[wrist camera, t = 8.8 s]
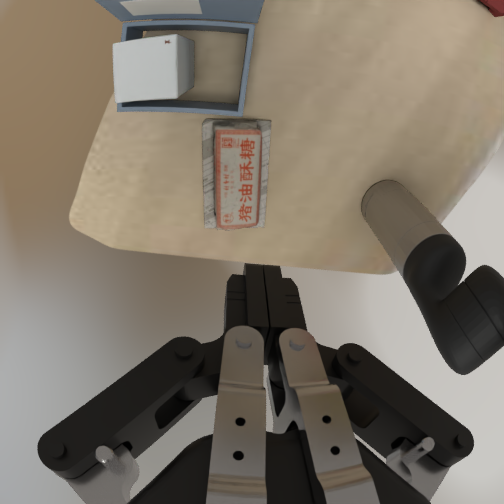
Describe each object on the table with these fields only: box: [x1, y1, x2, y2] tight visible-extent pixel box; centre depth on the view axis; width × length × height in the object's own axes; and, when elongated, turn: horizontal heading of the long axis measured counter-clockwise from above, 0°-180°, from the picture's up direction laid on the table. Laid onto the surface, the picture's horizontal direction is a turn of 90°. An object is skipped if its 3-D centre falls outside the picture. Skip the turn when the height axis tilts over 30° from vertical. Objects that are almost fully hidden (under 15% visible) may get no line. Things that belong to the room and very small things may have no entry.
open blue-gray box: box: [117, 20, 255, 117], centre depth 34 cm, size 16×12×7 cm
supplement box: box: [113, 34, 194, 103], centre depth 32 cm, size 7×7×13 cm
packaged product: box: [202, 119, 271, 231], centre depth 45 cm, size 18×5×10 cm
